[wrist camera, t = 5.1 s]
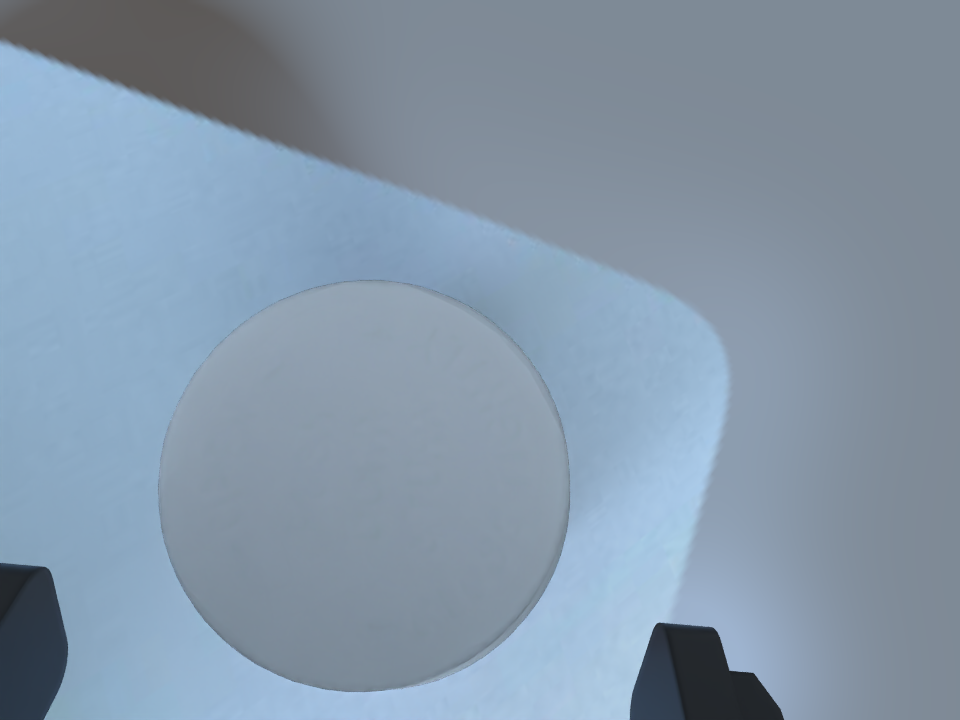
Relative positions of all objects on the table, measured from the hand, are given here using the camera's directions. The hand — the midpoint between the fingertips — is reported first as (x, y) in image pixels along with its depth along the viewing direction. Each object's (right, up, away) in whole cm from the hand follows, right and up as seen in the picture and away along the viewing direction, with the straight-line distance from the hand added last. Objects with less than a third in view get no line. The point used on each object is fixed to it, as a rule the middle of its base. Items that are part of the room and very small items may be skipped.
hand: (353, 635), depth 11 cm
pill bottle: (0, 0, +10) cm, 10 cm away
